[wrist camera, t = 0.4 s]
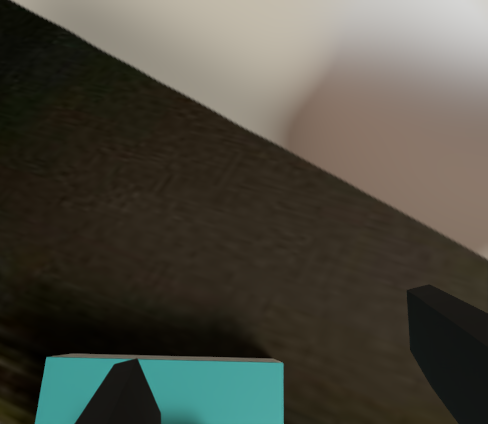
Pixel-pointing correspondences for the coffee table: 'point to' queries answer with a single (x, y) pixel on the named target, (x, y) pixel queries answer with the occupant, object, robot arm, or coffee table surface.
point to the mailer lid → (170, 390)
